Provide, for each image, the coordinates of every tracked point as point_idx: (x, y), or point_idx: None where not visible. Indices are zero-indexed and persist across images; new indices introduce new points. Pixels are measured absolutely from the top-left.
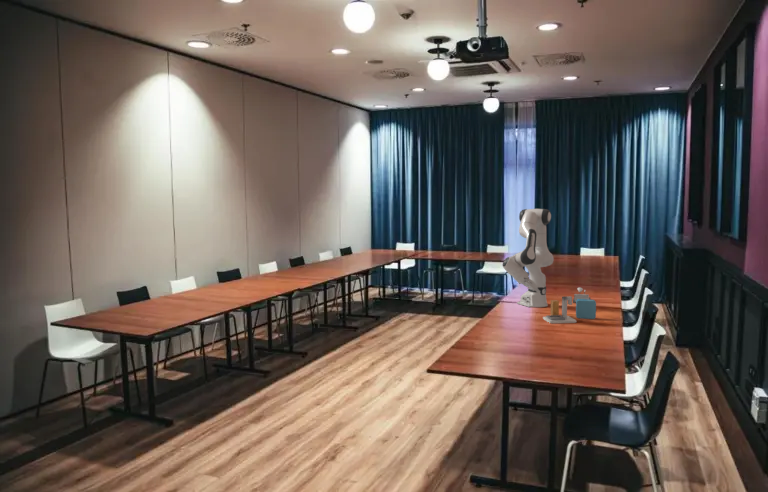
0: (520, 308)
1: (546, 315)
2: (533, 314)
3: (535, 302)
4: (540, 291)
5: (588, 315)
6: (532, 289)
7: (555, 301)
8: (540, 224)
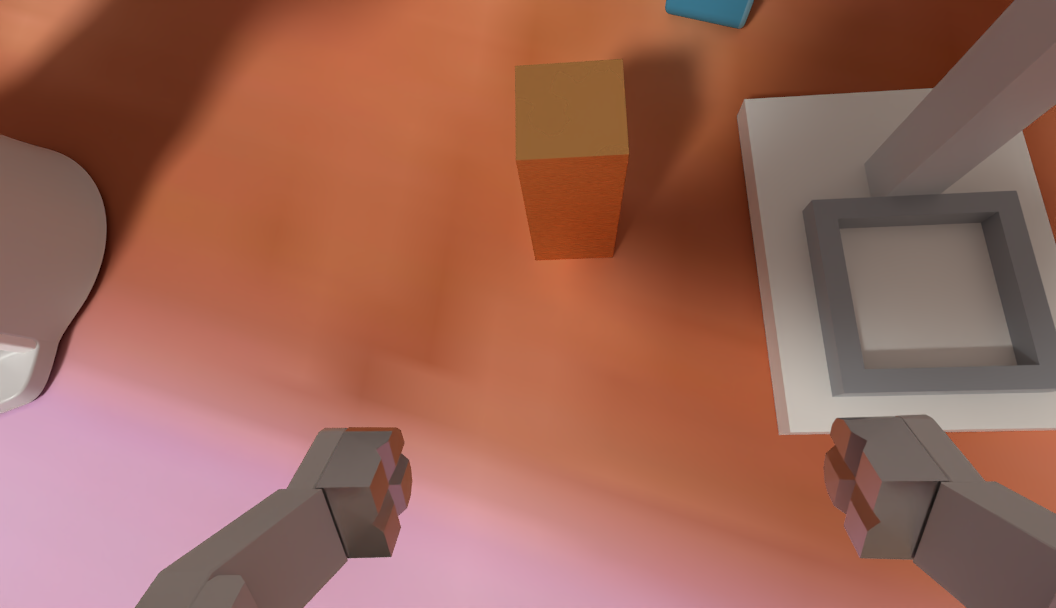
0: (72, 545)
1: (848, 391)
2: (484, 478)
3: (13, 295)
4: None
5: None
6: (378, 548)
7: (624, 113)
8: None
